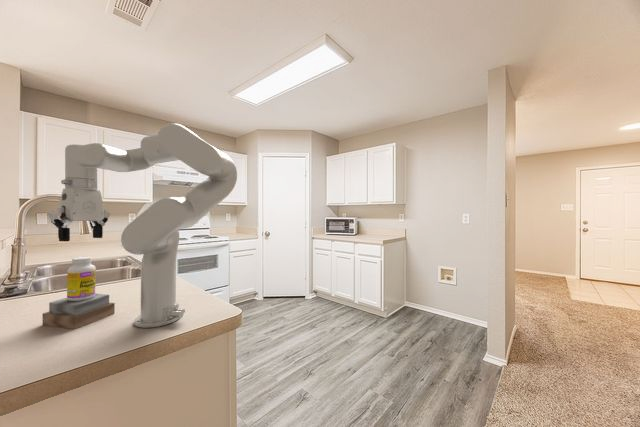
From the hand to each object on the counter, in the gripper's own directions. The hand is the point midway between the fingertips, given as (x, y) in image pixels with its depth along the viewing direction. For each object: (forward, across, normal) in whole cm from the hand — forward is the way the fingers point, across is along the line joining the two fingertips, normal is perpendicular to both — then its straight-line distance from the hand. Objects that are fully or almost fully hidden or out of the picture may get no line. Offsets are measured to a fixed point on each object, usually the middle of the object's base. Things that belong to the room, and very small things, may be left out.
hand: (81, 239), depth 83 cm
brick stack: (+25, 0, 0) cm, 25 cm away
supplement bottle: (+19, 0, 0) cm, 19 cm away
